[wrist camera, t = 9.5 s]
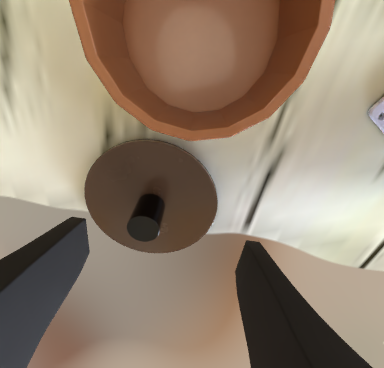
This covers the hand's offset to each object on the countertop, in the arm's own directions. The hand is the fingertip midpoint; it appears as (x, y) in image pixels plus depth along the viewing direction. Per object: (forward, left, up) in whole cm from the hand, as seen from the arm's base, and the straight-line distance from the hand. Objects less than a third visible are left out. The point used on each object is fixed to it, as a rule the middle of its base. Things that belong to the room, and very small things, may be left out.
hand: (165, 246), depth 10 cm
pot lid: (0, +5, -10) cm, 11 cm away
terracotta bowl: (+5, -8, -10) cm, 14 cm away
